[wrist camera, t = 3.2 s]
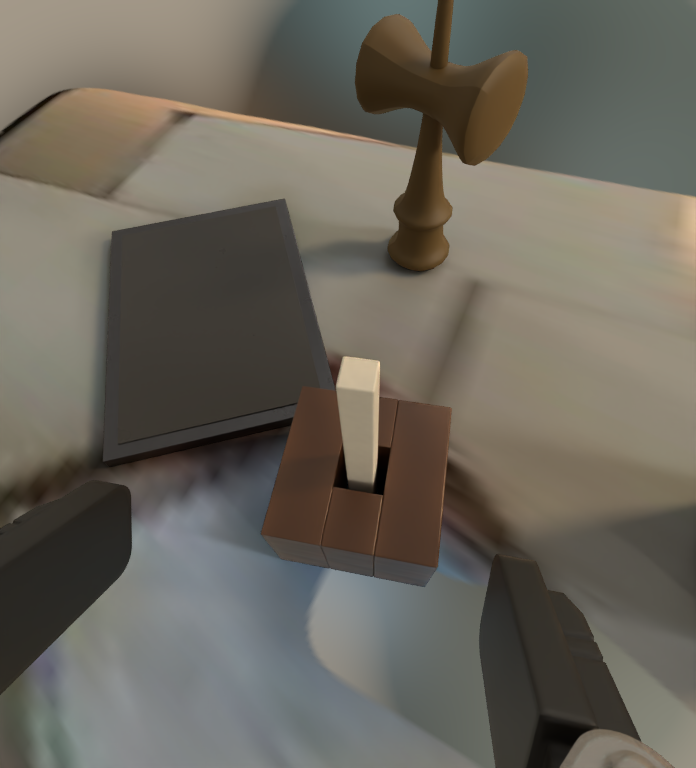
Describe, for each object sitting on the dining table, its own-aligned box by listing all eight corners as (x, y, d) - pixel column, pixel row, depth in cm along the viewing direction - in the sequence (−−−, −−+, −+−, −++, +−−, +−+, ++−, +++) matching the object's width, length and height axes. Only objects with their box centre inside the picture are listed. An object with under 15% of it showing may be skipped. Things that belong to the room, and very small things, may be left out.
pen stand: (438, 450, 31) (452, 407, 26) (425, 587, 27) (437, 568, 22) (313, 430, 32) (302, 385, 27) (280, 559, 28) (260, 534, 23)
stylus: (377, 492, 30) (381, 359, 17) (373, 515, 29) (374, 393, 16) (354, 488, 30) (342, 354, 17) (350, 510, 29) (334, 387, 16)
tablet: (286, 207, 45) (284, 197, 44) (340, 413, 33) (339, 405, 32) (116, 239, 43) (111, 230, 42) (109, 467, 31) (101, 461, 31)
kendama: (440, 302, 38) (497, -1, 21) (353, 246, 41) (341, -49, 24) (484, 261, 40) (568, -43, 23) (397, 212, 44) (415, -81, 27)
